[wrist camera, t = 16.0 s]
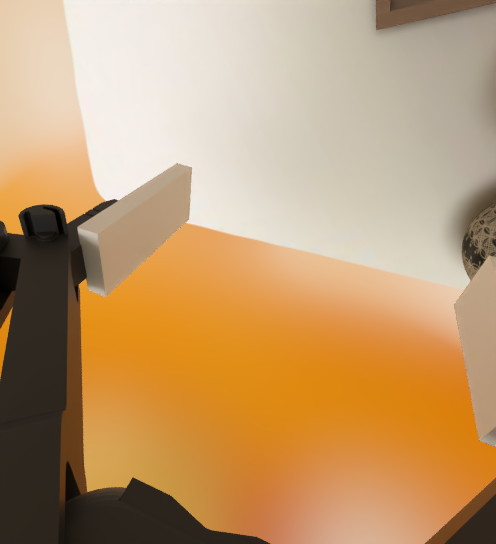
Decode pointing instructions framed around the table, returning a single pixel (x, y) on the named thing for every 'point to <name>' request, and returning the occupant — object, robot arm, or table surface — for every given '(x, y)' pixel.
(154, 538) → the robot arm
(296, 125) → the table surface
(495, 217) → the decorative egg
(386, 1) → the box
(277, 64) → the table surface
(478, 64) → the table surface
